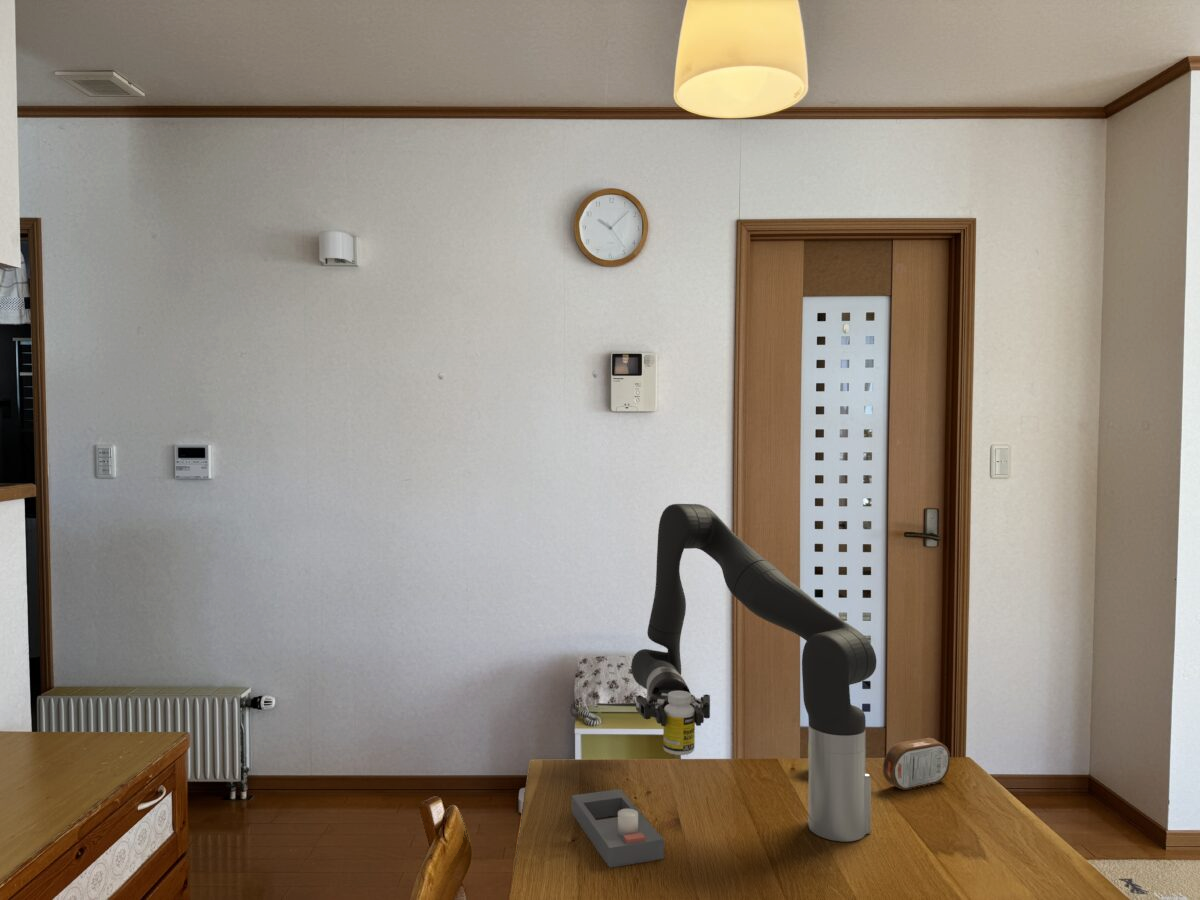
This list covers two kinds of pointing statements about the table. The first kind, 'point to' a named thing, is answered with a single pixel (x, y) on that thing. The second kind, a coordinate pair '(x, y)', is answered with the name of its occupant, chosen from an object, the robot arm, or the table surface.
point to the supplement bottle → (679, 724)
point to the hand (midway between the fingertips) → (681, 720)
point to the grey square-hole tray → (617, 828)
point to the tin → (916, 763)
